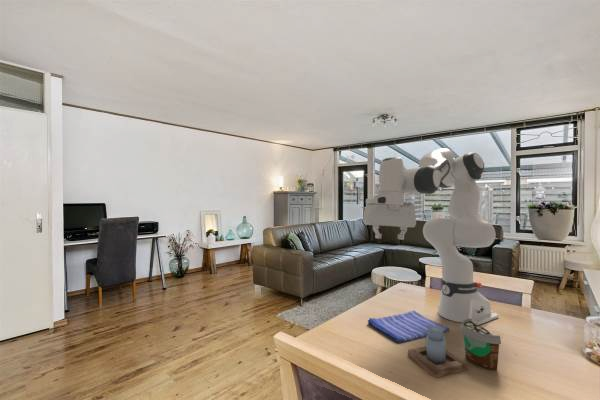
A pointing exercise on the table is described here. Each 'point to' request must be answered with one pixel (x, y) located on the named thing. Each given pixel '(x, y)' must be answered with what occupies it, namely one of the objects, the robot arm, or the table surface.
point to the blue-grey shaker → (436, 345)
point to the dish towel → (404, 326)
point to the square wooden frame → (449, 367)
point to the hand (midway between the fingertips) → (389, 239)
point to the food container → (480, 345)
